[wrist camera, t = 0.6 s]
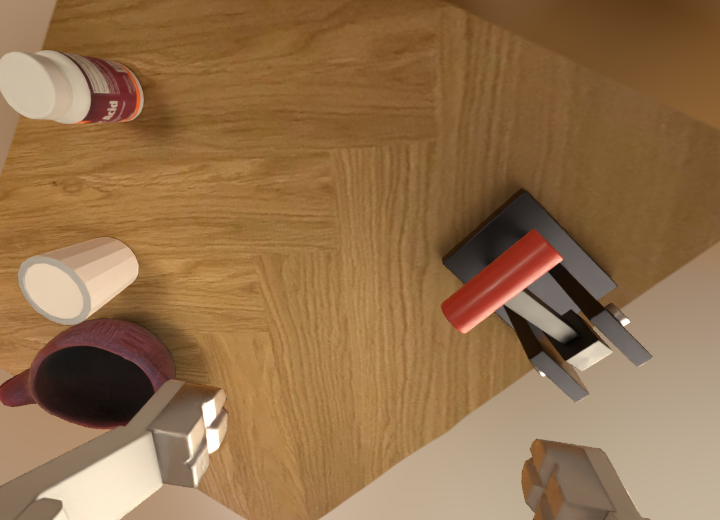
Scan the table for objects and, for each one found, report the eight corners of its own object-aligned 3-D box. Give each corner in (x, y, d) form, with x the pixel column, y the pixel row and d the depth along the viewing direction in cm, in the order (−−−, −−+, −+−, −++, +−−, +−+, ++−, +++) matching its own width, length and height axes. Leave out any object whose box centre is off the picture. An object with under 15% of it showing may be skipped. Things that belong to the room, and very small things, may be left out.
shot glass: (105, 296, 40) (47, 332, 33) (70, 240, 37) (0, 266, 31) (156, 282, 38) (104, 317, 32) (122, 223, 36) (59, 247, 29)
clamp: (441, 258, 33) (458, 340, 21) (521, 187, 30) (594, 237, 18) (527, 338, 35) (586, 453, 23) (611, 280, 32) (729, 379, 20)
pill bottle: (117, 131, 32) (26, 137, 25) (83, 78, 31) (-25, 67, 23) (156, 106, 31) (73, 105, 23) (122, 50, 30) (22, 29, 22)
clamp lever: (432, 294, 18) (453, 332, 16) (523, 218, 16) (558, 252, 14) (537, 354, 25) (559, 385, 23) (609, 307, 23) (639, 336, 21)
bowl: (131, 281, 38) (66, 321, 31) (213, 364, 42) (171, 419, 34) (54, 345, 44) (-18, 392, 36) (131, 415, 47) (80, 472, 39)
